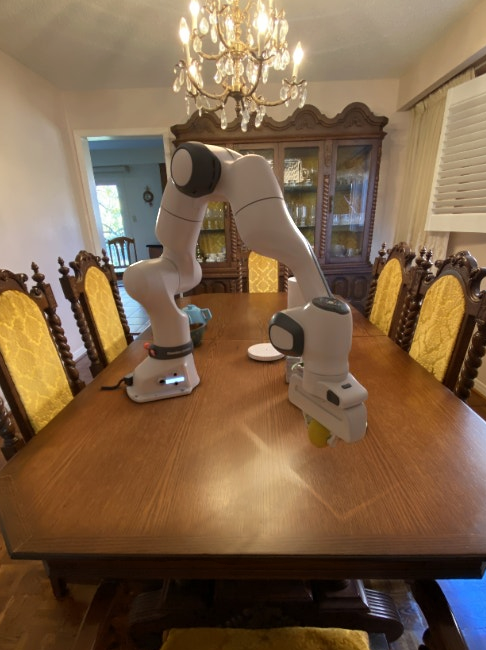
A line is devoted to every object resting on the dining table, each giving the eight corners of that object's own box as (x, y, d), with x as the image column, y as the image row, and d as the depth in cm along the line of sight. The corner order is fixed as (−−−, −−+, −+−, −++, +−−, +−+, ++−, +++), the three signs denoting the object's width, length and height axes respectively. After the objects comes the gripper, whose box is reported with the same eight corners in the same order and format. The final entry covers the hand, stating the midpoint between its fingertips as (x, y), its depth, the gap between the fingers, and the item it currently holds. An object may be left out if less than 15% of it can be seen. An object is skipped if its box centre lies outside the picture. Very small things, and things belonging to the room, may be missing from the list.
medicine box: (300, 384, 108) (300, 358, 105) (285, 383, 109) (286, 357, 105) (301, 373, 115) (302, 349, 112) (288, 372, 116) (288, 348, 113)
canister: (286, 323, 168) (286, 281, 161) (288, 314, 183) (289, 276, 176) (319, 323, 166) (321, 282, 159) (319, 314, 181) (321, 276, 173)
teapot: (187, 334, 156) (185, 311, 152) (169, 327, 166) (167, 305, 162) (214, 326, 166) (212, 304, 162) (195, 320, 176) (193, 300, 172)
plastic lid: (265, 366, 121) (265, 359, 120) (240, 355, 131) (240, 349, 130) (293, 355, 129) (293, 349, 128) (267, 346, 139) (267, 340, 138)
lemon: (327, 458, 72) (329, 426, 69) (302, 450, 75) (304, 418, 72) (336, 444, 76) (339, 413, 73) (312, 436, 79) (314, 406, 76)
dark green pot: (157, 344, 145) (154, 320, 142) (205, 340, 148) (203, 317, 144) (154, 355, 133) (150, 330, 130) (206, 351, 136) (204, 326, 132)
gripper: (282, 364, 76) (281, 418, 81) (350, 406, 60) (343, 469, 65) (304, 358, 79) (302, 410, 84) (375, 396, 63) (367, 458, 68)
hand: (320, 437), depth 75 cm, fingers closed on lemon, 5 cm apart
